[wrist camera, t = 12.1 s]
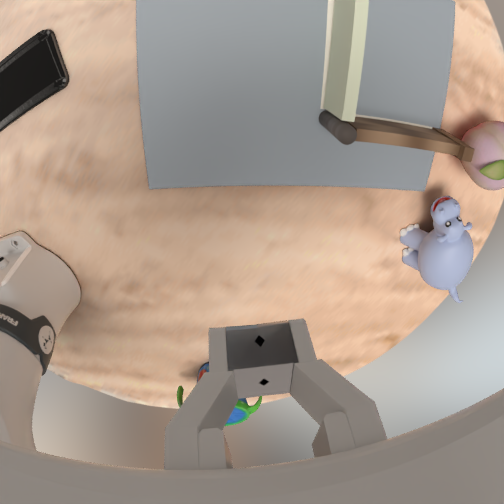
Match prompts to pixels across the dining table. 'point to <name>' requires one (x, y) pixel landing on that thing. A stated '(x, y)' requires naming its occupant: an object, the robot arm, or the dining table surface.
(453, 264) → the hippopotamus toy
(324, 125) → the fence fixed
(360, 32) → the fence gate
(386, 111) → the board
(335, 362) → the dining table surface
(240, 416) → the snack cup
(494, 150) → the decorative fruit
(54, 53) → the phone
